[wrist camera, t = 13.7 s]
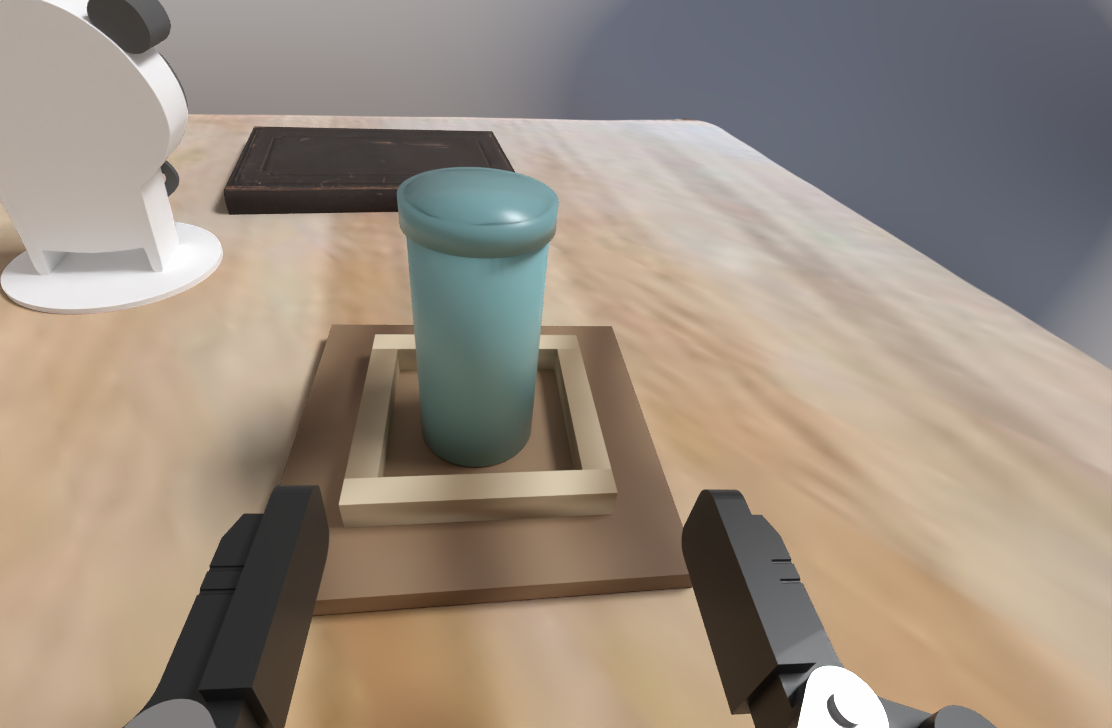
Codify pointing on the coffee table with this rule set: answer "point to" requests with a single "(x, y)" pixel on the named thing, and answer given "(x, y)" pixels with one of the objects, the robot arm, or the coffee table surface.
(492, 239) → the teal domed canister
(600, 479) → the collar base
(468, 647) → the coffee table surface
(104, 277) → the panda figurine
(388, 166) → the hardcover book
